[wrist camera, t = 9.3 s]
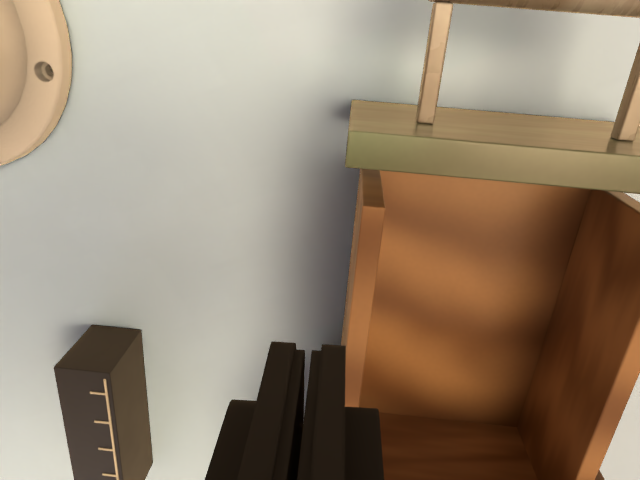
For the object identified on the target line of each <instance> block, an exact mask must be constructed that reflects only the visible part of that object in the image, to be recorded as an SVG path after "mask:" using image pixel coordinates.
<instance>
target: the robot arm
mask: <svg viewBox="0 0 640 480" xmlns="http://www.w3.org/2000/svg"><path fill="white" fill-rule="evenodd" d="M51 68H52V69H53V73H52V72H51ZM71 72H72V53H71V46H70V39H69V33H68V27H67V23H66V20H65V17H64V14H63V11H62V8H61V5H60V1H59V0H0V166H1V165H4V164H7V163H10V162H12V161H14V160H16V159H19V158H21V157H23V156H25V155H27V154H29V153H30V152H31V151H33V150H34V149H35V148H36V147H38V146H39V145H40V144H42V143H43V142H44V141H45V140H46V138H47V137H48V136H49V134H50V133H51V132H52V131H53V129H54V128H55V127H56V126H57V124H58V121H59V119H60V117H61V115H62V113H63V111H64V108H65V106H66V103H67V98H68V94H69V89H70V85H71ZM345 366H346V346H341V345H323V344H322V348H321V351H313V350H312V354H311V363H310V372H309V380H308V389H307V398H306V406H305V415H304V369H305V350H296V343H287V342H271V345H270V349H269V353H268V357H267V361H266V365H265V369H264V373H263V377H262V381H261V385H260V389H259V393H258V397H257V401H247V400H231V401H230V403H229V406H228V409H227V412H226V415H225V418H224V421H223V424H222V427H221V431H220V434H219V437H218V440H217V443H216V446H215V449H214V453H213V456H212V459H211V462H210V465H209V468H208V471H207V475H206V478H205V480H384V470H383V457H382V444H381V431H380V418H379V410H378V409H377V408H361V407H345ZM303 423H304V424H303Z"/></svg>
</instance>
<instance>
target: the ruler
mask: <svg viewBox="0 0 640 480" xmlns="http://www.w3.org/2000/svg"><path fill="white" fill-rule="evenodd" d="M54 371H55V377H56V382H57V388H58V393H59V399H60V404H61V410H62V415H63V421H64V426H65V432H66V437H67V443H68V448H69V454H70V459H71V465H72V470H73V476H74V480H145V478H146V476H147V474H148V472H149V470H150V468H151V466H152V463H153V458H152V447H151V436H150V425H149V413H148V402H147V391H146V380H145V369H144V357H143V346H142V335H141V330H137V329H128V328H118V327H108V326H99V325H91V327H90V328H89V329H88V330H87V331H86V332H85V333H84V334H83V335H82V337H81V338H80V339H79V340H78V341H77V342H76V343H75V344H74V345H73V347H72V348H71V349H70V350H69V351H68V352H67V353H66V354H65V355H64V356H63V358H62V359H61V360H60V361H59V362H58V363H57V364H56V365H55V366H54Z"/></svg>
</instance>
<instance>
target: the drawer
mask: <svg viewBox="0 0 640 480" xmlns="http://www.w3.org/2000/svg"><path fill="white" fill-rule="evenodd" d="M428 1H430V2H435V3H433V7H432V13H431V20H430V27H429V33H428V40H427V47H426V53H425V60H424V67H423V74H422V80H421V87H420V94H419V100H418V105H409V104H398V103H386V102H374V101H362V100H352V101H351V110H350V120H349V129H348V140H347V150H346V160H345V167H348V168H359V169H360V174H359V183H358V192H357V201H356V210H355V219H354V229H353V238H352V247H351V256H350V265H349V275H348V284H347V293H346V302H345V311H344V321H343V330H342V339H341V346H346V366H345V407H361V408H377V409H378V410H379V418H380V431H381V444H382V457H383V470H384V480H595V478H596V476H597V473H598V471H599V469H600V466H601V464H602V461H603V459H604V457H605V454H606V452H607V449H608V447H609V445H610V442H611V440H612V438H613V435H614V433H615V430H616V428H617V426H618V423H619V421H620V418H621V416H622V414H623V411H624V409H625V406H626V404H627V402H628V399H629V397H630V395H631V392H632V390H633V387H634V385H635V383H636V380H637V378H638V375H639V373H640V202H638V201H636V200H635V199H633V198H631V197H630V196H628V195H627V194H625V193H635V194H640V126H639V125H640V43H639V47H638V50H637V53H636V56H635V59H634V63H633V66H632V69H631V72H630V75H629V79H628V82H627V85H626V88H625V91H624V95H623V98H622V101H621V104H620V107H619V111H618V114H617V117H616V120H615V122H609V121H597V120H585V119H573V118H562V117H550V116H538V115H527V114H515V113H503V112H491V111H480V110H468V109H456V108H444V107H437V101H438V95H439V89H440V83H441V77H442V71H443V65H444V58H445V52H446V46H447V40H448V34H449V28H450V22H451V16H452V10H453V4H452V3H454V4H467V5H480V6H493V7H506V8H519V9H532V10H545V11H558V12H571V13H584V14H597V15H610V16H623V17H636V18H640V0H428ZM623 192H624V193H623Z"/></svg>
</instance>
